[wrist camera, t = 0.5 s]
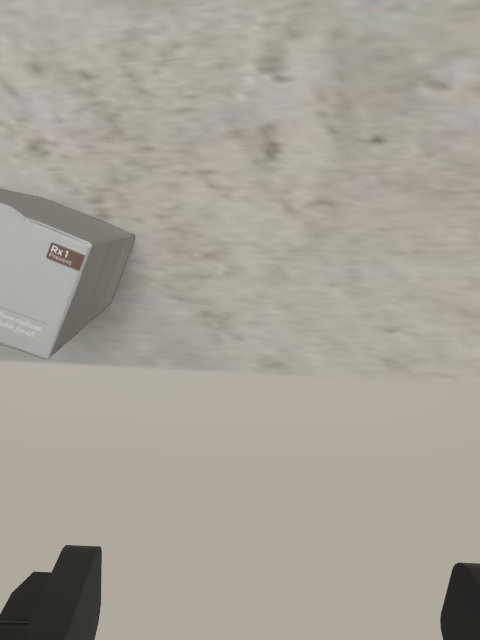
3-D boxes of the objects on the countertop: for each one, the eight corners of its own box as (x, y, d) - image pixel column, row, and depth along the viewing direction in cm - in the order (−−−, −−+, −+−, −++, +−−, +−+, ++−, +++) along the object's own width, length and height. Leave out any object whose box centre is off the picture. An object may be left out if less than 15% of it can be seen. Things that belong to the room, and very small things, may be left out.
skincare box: (16, 269, 35) (-140, 312, 20) (43, 185, 34) (-103, 161, 18) (115, 308, 36) (41, 378, 21) (145, 228, 35) (89, 241, 20)
